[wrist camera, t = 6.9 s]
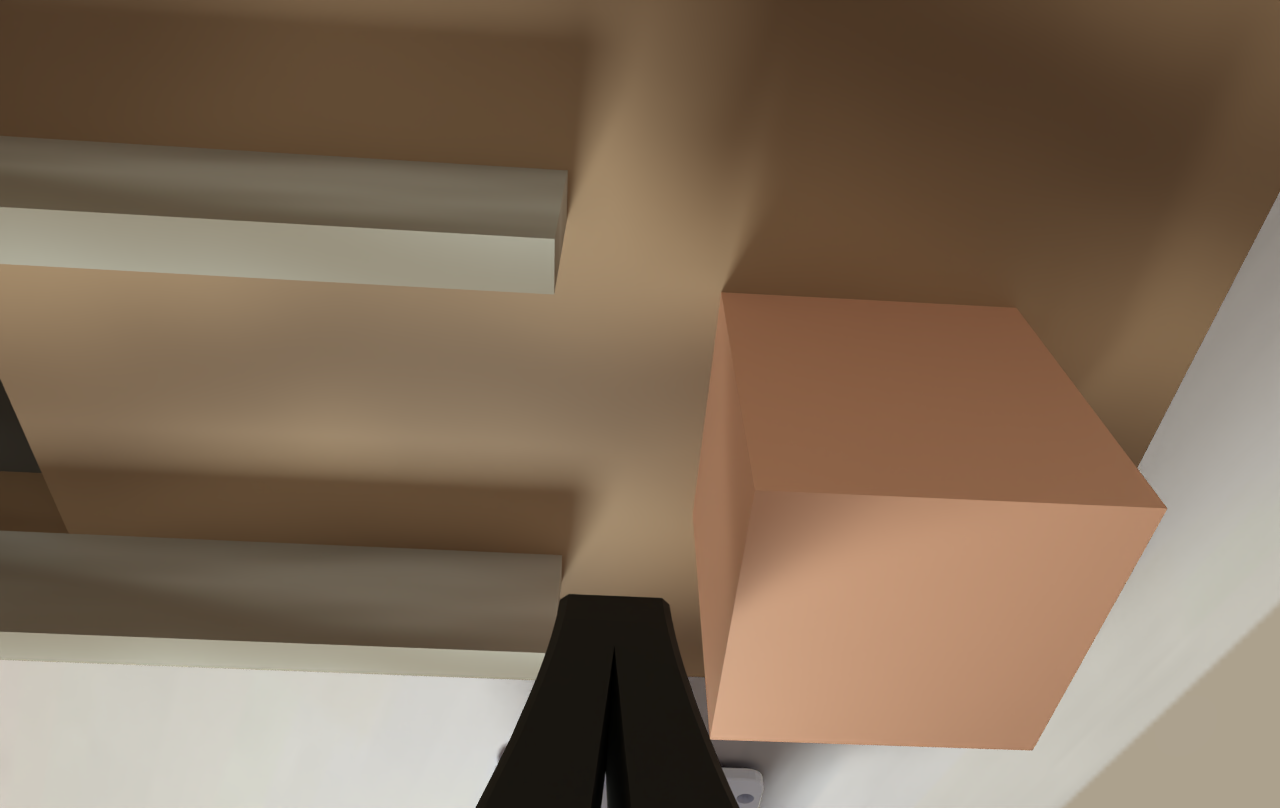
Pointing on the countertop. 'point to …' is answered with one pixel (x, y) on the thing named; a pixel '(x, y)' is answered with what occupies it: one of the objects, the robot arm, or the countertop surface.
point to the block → (901, 524)
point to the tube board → (536, 282)
